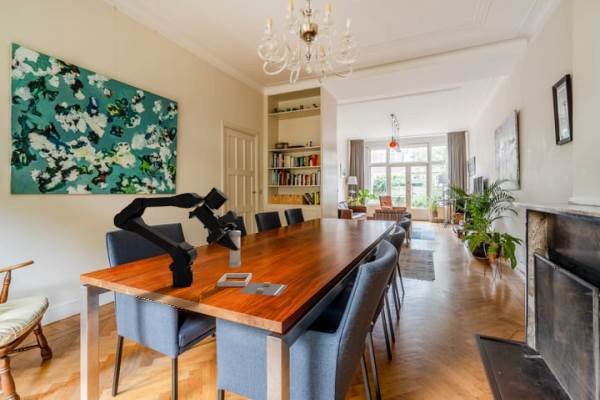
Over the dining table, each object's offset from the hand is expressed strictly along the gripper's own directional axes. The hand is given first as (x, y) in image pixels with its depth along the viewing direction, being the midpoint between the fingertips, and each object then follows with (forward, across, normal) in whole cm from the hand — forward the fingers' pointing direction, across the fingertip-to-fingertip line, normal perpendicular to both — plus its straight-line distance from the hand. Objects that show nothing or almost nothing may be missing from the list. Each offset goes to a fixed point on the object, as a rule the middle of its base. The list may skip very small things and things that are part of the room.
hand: (238, 248), depth 101 cm
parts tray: (+8, 0, +10) cm, 13 cm away
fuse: (+4, 0, +6) cm, 7 cm away
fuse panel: (+17, -7, +2) cm, 18 cm away
